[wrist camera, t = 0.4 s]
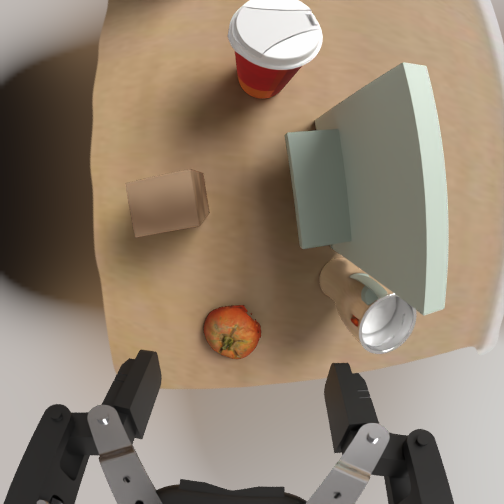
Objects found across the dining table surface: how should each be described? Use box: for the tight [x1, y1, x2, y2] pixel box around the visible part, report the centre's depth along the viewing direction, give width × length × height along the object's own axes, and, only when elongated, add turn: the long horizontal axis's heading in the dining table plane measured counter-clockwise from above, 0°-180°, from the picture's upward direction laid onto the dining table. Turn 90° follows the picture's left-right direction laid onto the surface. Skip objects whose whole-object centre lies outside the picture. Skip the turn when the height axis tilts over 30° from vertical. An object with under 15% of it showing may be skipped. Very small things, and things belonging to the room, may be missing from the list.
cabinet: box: [125, 169, 210, 238], centre depth 31 cm, size 5×7×12 cm
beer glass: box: [319, 257, 416, 354], centre depth 33 cm, size 7×7×15 cm
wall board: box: [285, 63, 448, 315], centre depth 27 cm, size 17×10×22 cm, turn 8°
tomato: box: [204, 305, 261, 359], centre depth 40 cm, size 8×7×7 cm
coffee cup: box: [228, 0, 322, 98], centre depth 27 cm, size 8×8×15 cm
